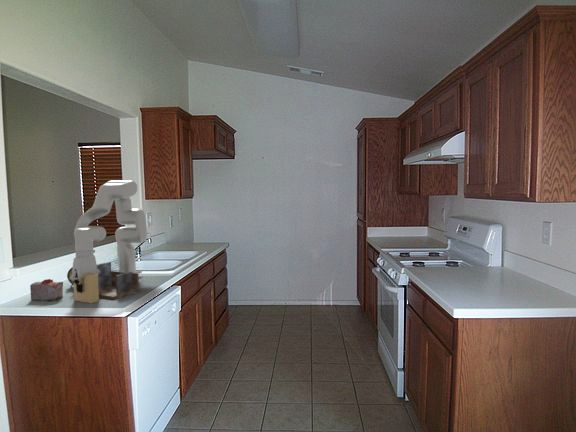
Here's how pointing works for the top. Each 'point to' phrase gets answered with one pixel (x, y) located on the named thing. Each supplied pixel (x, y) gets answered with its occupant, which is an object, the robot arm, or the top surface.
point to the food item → (46, 290)
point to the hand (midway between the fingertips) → (86, 290)
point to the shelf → (116, 282)
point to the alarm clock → (70, 276)
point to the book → (88, 289)
